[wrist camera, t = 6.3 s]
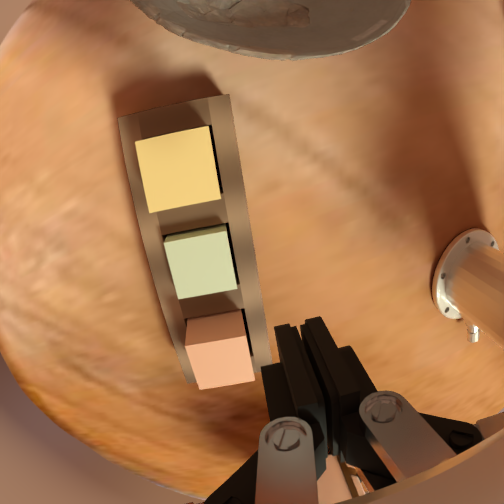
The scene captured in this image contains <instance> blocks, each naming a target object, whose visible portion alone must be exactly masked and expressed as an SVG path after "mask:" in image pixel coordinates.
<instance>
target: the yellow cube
mask: <svg viewBox="0 0 504 504" xmlns="http://www.w3.org/2000/svg"><path fill="white" fill-rule="evenodd" d="M135 145H136V151H137V156H138V161H139V166H140V171H141V176H142V181H143V186H144V191H145V196H146V200H147V205H148V209H149V213H153V212H157V211H162V210H167V209H172V208H177V207H182V206H187V205H192V204H197V203H202V202H207V201H213V200H218V199H221V195H220V189H219V183H218V178H217V172H216V166H215V160H214V154H213V149H212V143H211V137H210V131H209V126H205V127H200V128H195V129H190V130H185V131H180V132H175V133H170V134H166V135H161V136H157V137H153V138H148V139H144V140H140V141H136V142H135Z"/></svg>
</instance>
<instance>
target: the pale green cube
mask: <svg viewBox="0 0 504 504" xmlns="http://www.w3.org/2000/svg"><path fill="white" fill-rule="evenodd" d="M164 246H165V250H166V254H167V258H168V262H169V266H170V270H171V274H172V278H173V281H174V285H175V289H176V293H177V296H178V299H184V298H189V297H195V296H201V295H206V294H212V293H217V292H223V291H228V290H234V289H237V284H236V279H235V273H234V268H233V262H232V257H231V252H230V246H229V241H228V235H227V230H226V224H225V223H222V224H216V225H211V226H206V227H200V228H195V229H190V230H185V231H180V232H175V233H169V234H168V235H167V237H166V239H165V241H164Z"/></svg>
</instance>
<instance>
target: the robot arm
mask: <svg viewBox="0 0 504 504" xmlns="http://www.w3.org/2000/svg"><path fill="white" fill-rule="evenodd" d="M432 296H433V300H434V304H435V306H436V308H437V309H438V310H439V311H440V312H441V313H442V314H443V315H444V316H446V317H448V318H450V319H458V318H463V319H464V320H465V322H466V325H467V326H468V329H467V339H468V341H469V342H472V343H473V342H476V341H478V339H479V329H480V330H481V331H482V332H483V333H484V334H486V335H487V336H488V337H489V338H490V339H491V340H493V341H494V342H495V343H496V344H497V345H498V346H500V347H501V348H502V349H503V350H504V253H503V252H501V251H499V248H498V245H497V242H496V240H495V238H494V237H493V236H492V235H491V234H490V233H488V232H487V231H485V230H482V229H479V228H473V229H469V230H466V231H464V232H463V233H461V234H460V235H458V236H457V237H456V238H455V239H454V240H453V241H452V242H451V243H450V244H449V245H448V247H447V248H446V250H445V251H444V253H443V254H442V256H441V258H440V260H439V262H438V265H437V268H436V270H435V274H434V278H433V285H432ZM300 329H301V337H302V340H301V337H300V335H299V332H298V330H297V327H296V326H294V327H290V324H284V325H280V326H275V327H274V330H275V336H276V341H277V347H278V352H279V358H280V363H275V364H270V365H265V366H260V367H261V373H262V379H263V384H264V390H265V395H266V401H267V406H268V412H269V417H270V423H268V424H267V425H266V426H265V427H264V428H263V429H262V431H261V433H260V437H259V449H258V450H257V451H256V452H255V453H254V454H253V455H252V456H251V457H250V458H249V459H248V460H247V461H246V462H245V463H244V464H243V465H242V466H241V467H240V468H239V469H238V470H237V471H236V472H235V473H234V474H233V475H232V476H231V477H230V478H229V479H228V480H227V481H225V482H224V483H223V484H222V485H221V486H220V487H219V488H218V489H217V490H216V491H214V492H213V493H212V494H211V495H210V496H209V497H208V498H207V499H206V501H205V502H202V503H198V504H319V501H318V488H317V481H318V479H319V478H320V477H321V475H322V474H323V473H324V471H325V470H326V458H328V448H327V443H328V446H329V449H330V452H331V454H332V456H336V455H338V457H339V460H340V463H342V462H346V464H349V465H351V466H354V467H355V469H356V472H357V474H358V475H359V477H360V479H361V480H362V482H363V483H364V485H365V487H366V488H367V490H368V491H369V493H367V494H364V495H361V496H358V497H355V498H352V499H348V500H345V501H342V502H338V503H334V504H504V412H502V413H499V414H496V415H493V416H490V417H487V418H484V419H481V420H477V422H476V424H474V425H472V424H470V423H467V422H462V421H457V420H452V419H447V418H442V417H437V416H432V415H428V414H423V413H419V412H417V411H416V410H415V409H414V408H413V407H412V406H411V404H410V403H409V402H408V401H407V400H406V399H405V398H404V397H403V396H401V395H400V394H398V393H395V392H392V391H377V390H376V388H375V386H374V384H373V383H372V381H371V379H370V378H369V376H368V374H367V372H366V371H365V369H364V367H363V366H362V364H361V362H360V361H359V359H358V357H357V356H356V354H355V352H354V351H353V349H352V347H351V346H345V347H341V348H338V347H337V345H336V344H335V342H334V340H333V338H332V336H331V334H330V333H329V331H328V329H327V327H326V325H325V323H324V322H323V320H322V318H321V317H320V316H319V317H315V318H311V319H306V320H305V324H303V325H300ZM186 504H194V503H193V502H190V503H186Z"/></svg>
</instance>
